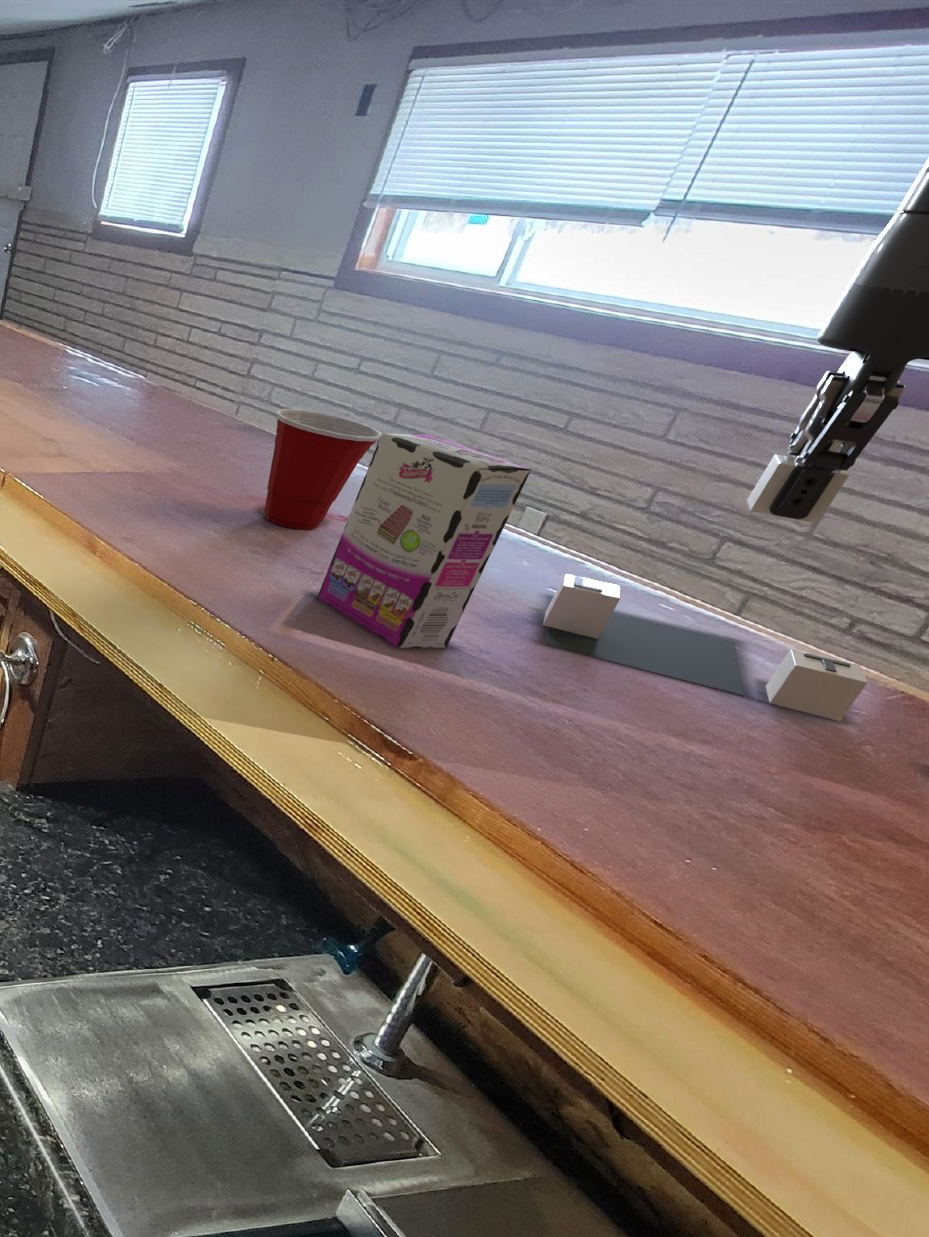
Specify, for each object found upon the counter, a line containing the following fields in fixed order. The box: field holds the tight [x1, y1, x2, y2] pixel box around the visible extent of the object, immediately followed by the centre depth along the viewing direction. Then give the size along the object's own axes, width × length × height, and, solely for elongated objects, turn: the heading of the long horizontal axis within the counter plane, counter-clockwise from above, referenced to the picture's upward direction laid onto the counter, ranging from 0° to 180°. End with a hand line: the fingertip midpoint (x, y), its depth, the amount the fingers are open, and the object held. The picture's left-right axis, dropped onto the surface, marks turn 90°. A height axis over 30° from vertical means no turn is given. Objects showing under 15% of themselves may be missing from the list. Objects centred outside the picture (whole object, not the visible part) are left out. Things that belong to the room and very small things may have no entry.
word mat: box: [545, 612, 745, 697], centre depth 87 cm, size 13×14×1 cm
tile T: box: [765, 648, 868, 722], centre depth 78 cm, size 4×4×4 cm
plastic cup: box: [263, 408, 383, 530], centre depth 112 cm, size 11×11×12 cm
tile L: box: [542, 573, 622, 639], centre depth 89 cm, size 4×4×4 cm
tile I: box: [746, 453, 850, 524], centre depth 79 cm, size 4×4×4 cm
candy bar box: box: [316, 433, 533, 649], centre depth 86 cm, size 11×5×16 cm, turn 6°
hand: (783, 508), depth 80 cm, fingers closed on tile I, 4 cm apart
